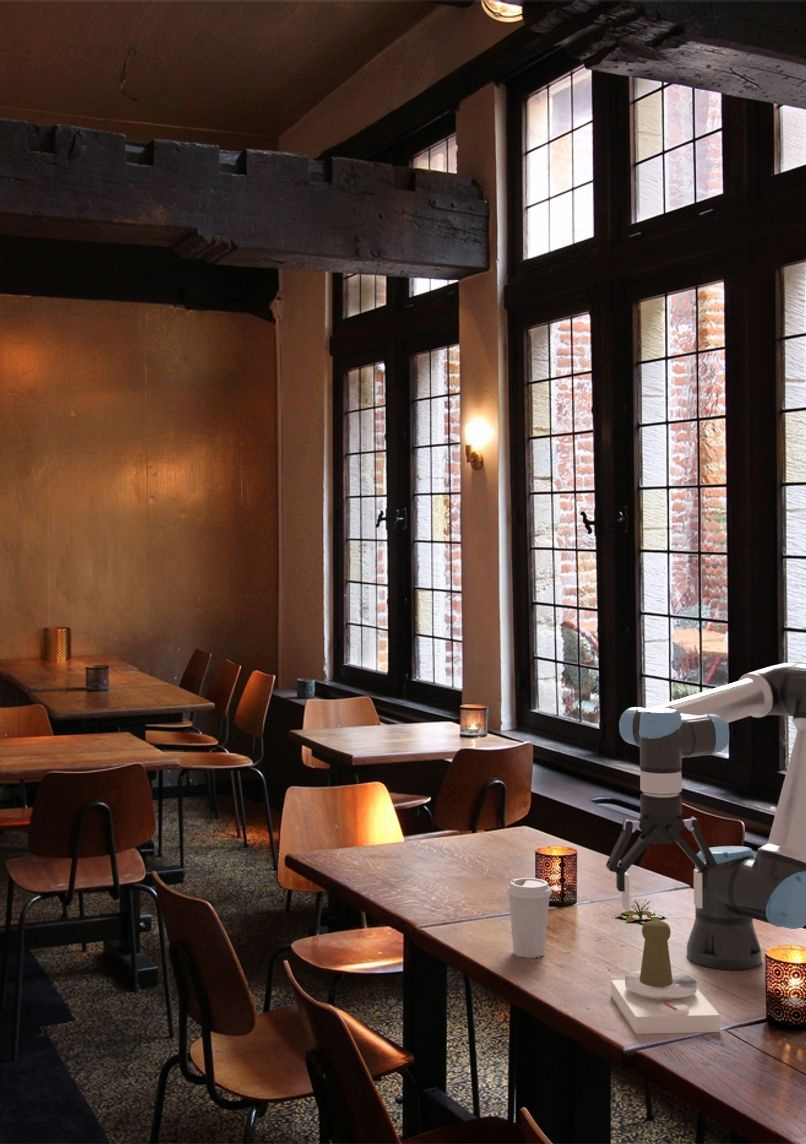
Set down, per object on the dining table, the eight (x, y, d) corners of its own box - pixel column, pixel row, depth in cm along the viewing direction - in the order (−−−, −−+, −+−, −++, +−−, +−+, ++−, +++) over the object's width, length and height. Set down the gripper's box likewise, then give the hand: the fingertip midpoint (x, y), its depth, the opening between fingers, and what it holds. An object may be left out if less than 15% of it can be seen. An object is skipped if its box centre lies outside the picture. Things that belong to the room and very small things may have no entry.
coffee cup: (522, 943, 269) (522, 874, 269) (560, 952, 263) (560, 881, 263) (497, 954, 261) (497, 883, 261) (535, 963, 255) (535, 891, 255)
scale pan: (685, 975, 236) (685, 968, 236) (705, 999, 223) (705, 992, 223) (617, 976, 235) (617, 970, 235) (634, 1000, 222) (634, 994, 222)
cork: (673, 987, 226) (673, 927, 225) (639, 985, 227) (639, 925, 227) (672, 976, 232) (672, 918, 231) (639, 974, 233) (639, 916, 233)
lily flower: (604, 920, 288) (604, 900, 288) (634, 909, 297) (634, 890, 296) (647, 931, 280) (647, 911, 280) (677, 920, 288) (677, 900, 288)
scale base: (688, 994, 237) (688, 973, 237) (719, 1032, 218) (719, 1009, 218) (611, 996, 236) (611, 975, 236) (635, 1033, 217) (635, 1011, 217)
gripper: (720, 787, 233) (721, 899, 234) (589, 790, 232) (591, 903, 232) (733, 795, 226) (734, 911, 226) (598, 798, 224) (599, 915, 225)
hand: (662, 907), depth 229 cm, fingers open, 13 cm apart
